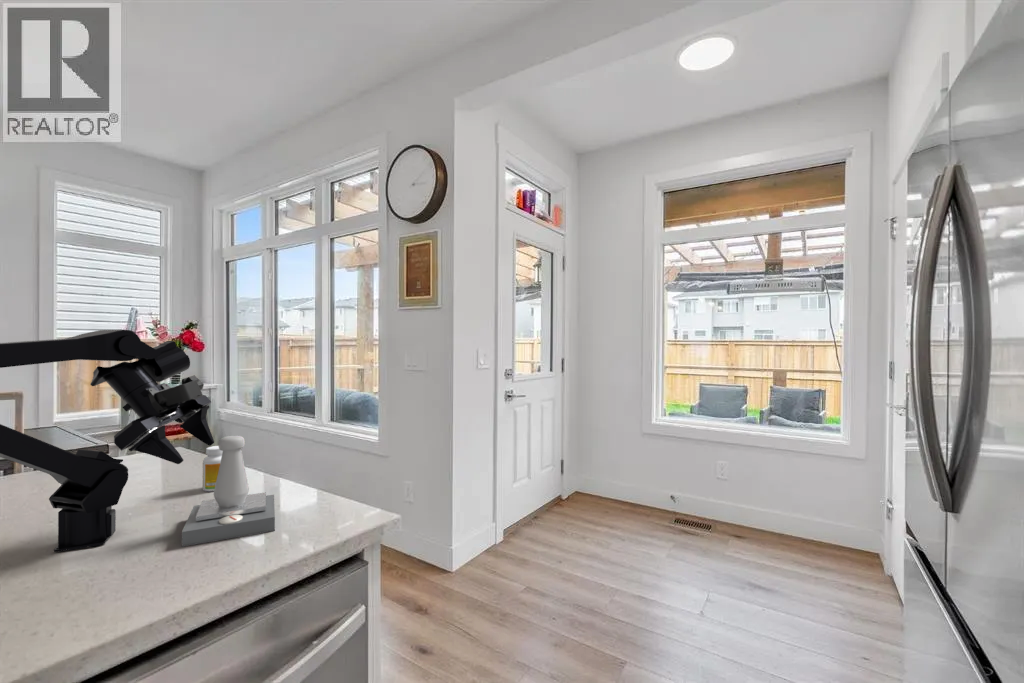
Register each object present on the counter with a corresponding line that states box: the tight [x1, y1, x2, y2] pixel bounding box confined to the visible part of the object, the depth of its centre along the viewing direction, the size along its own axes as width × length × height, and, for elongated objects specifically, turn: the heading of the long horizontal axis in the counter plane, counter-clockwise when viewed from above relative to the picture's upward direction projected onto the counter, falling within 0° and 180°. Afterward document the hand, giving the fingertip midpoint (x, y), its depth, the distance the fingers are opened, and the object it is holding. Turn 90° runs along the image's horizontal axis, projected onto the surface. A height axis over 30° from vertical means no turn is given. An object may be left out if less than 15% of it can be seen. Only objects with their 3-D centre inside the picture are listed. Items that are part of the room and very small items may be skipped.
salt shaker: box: [213, 435, 250, 508], centre depth 88 cm, size 6×6×13 cm
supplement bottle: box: [202, 445, 223, 492], centre depth 108 cm, size 5×5×10 cm
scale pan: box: [196, 492, 267, 521], centre depth 88 cm, size 11×9×1 cm
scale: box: [181, 494, 276, 547], centre depth 87 cm, size 14×14×3 cm
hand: (197, 452), depth 88 cm, fingers open, 9 cm apart
